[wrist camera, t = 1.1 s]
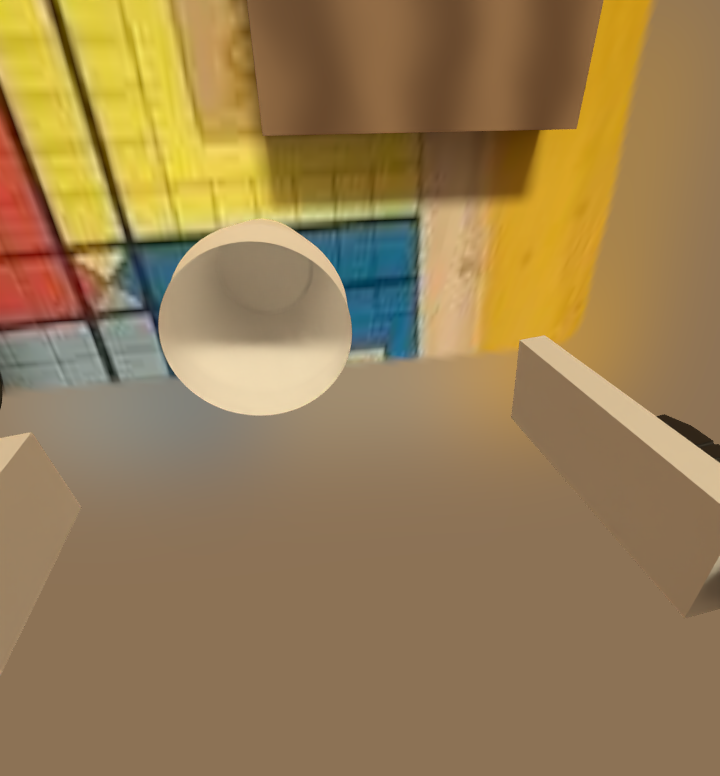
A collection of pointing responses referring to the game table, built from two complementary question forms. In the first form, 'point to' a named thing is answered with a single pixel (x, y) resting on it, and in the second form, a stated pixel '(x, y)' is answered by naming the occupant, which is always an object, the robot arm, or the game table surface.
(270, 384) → the cup
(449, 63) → the walnut base
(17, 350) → the game table surface
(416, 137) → the game table surface
